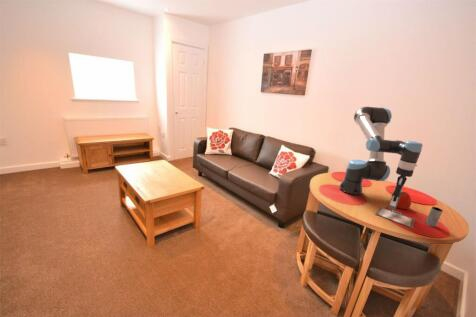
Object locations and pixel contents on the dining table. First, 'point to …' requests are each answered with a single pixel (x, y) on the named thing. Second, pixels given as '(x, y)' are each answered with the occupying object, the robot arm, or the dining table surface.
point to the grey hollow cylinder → (434, 216)
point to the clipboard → (395, 217)
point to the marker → (396, 203)
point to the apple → (404, 201)
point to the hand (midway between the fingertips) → (393, 204)
